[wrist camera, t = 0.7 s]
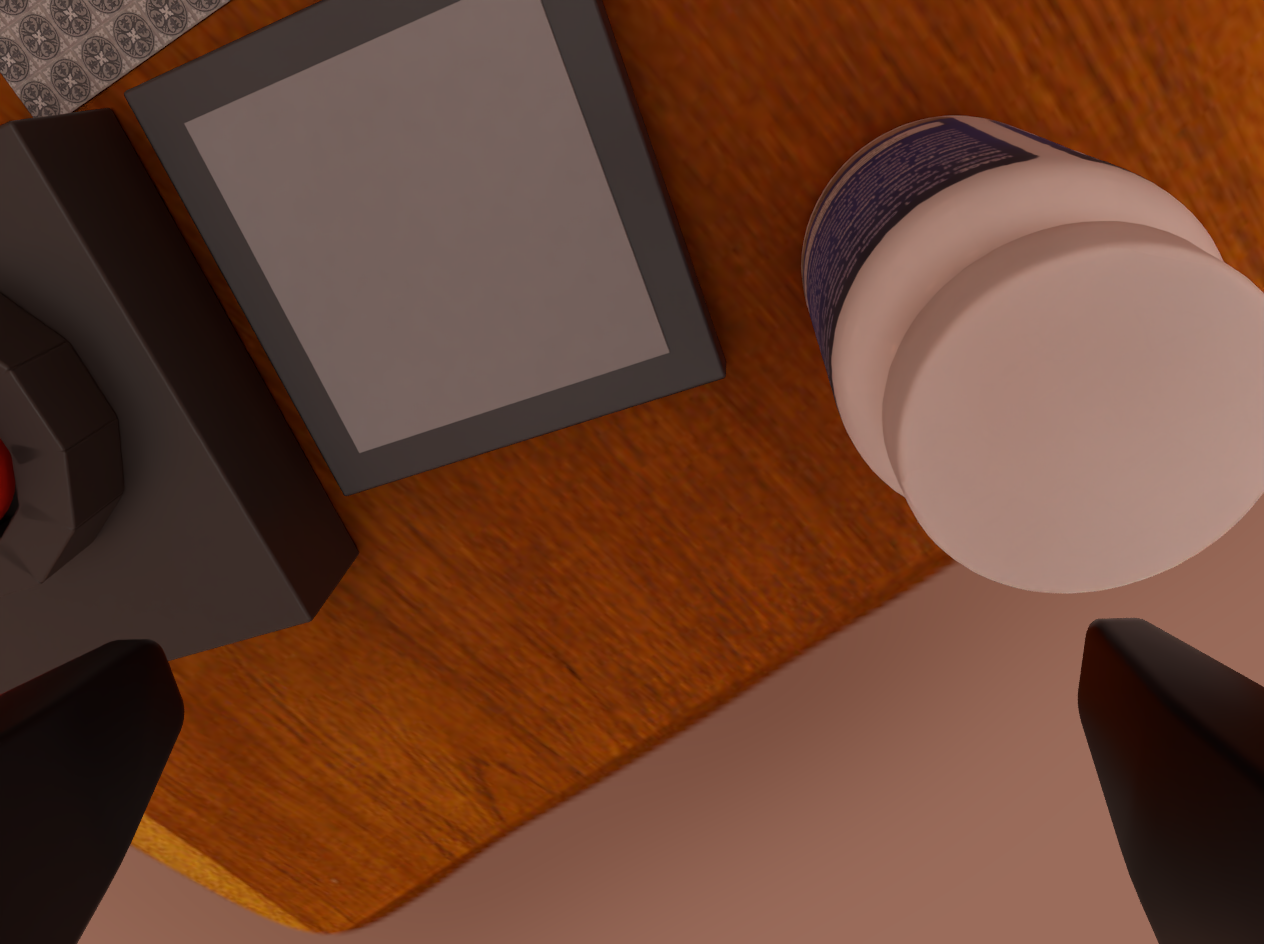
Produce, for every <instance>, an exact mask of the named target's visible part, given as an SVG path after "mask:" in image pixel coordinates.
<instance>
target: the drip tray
mask: <svg viewBox="0 0 1264 944" xmlns="http://www.w3.org/2000/svg"><path fill="white" fill-rule="evenodd" d="M124 96H125V98H126V100H127V101H128V103H129V105H130V107H131V109H132V110H133V112H134V114H135V116H136V118H137V120H138V121H139V123H140V125H141V127H142V129H143V130H144V132H145V134H146V136H147V138H148V140H149V141H150V143H151V145H152V147H153V149H154V150H155V152H156V154H157V156H158V158H159V160H160V161H161V163H162V165H163V167H164V169H165V170H166V172H167V174H168V176H169V178H170V180H171V181H172V183H173V185H174V187H175V189H176V190H177V192H178V194H179V196H180V198H181V200H182V201H183V203H184V205H185V207H186V209H187V210H188V212H189V214H190V216H191V218H192V220H193V221H194V223H195V225H196V227H197V229H198V230H199V232H200V234H201V236H202V238H203V240H204V241H205V243H206V245H207V247H208V249H209V250H210V252H211V254H212V256H213V258H214V260H215V261H216V263H217V265H218V267H219V269H220V270H221V272H222V274H223V276H224V278H225V280H226V281H227V283H228V285H229V287H230V289H231V290H232V292H233V294H234V296H235V298H236V300H237V301H238V303H239V305H240V307H241V309H242V310H243V312H244V314H245V316H246V318H247V320H248V321H249V323H250V325H251V327H252V329H253V330H254V332H255V334H256V336H257V338H258V340H259V341H260V343H261V345H262V347H263V349H264V350H265V352H266V354H267V356H268V358H269V360H270V361H271V363H272V365H273V367H274V369H275V370H276V372H277V374H278V376H279V378H280V380H281V381H282V383H283V385H284V387H285V389H286V390H287V392H288V394H289V396H290V398H291V400H292V401H293V403H294V405H295V407H296V409H297V410H298V412H299V414H300V416H301V418H302V420H303V421H304V423H305V425H306V427H307V429H308V430H309V432H310V434H311V436H312V438H313V440H314V441H315V443H316V445H317V447H318V449H319V450H320V452H321V454H322V456H323V458H324V460H325V461H326V463H327V465H328V467H329V469H330V470H331V472H332V474H333V476H334V478H335V480H336V481H337V483H338V485H339V487H340V489H341V490H342V492H343V494H344V495H345V496H349V495H352V494H355V493H358V492H361V491H365V490H368V489H371V488H374V487H377V486H381V485H384V484H387V483H390V482H393V481H397V480H400V479H403V478H406V477H409V476H413V475H416V474H419V473H422V472H425V471H429V470H432V469H435V468H438V467H441V466H445V465H448V464H451V463H454V462H457V461H461V460H464V459H467V458H470V457H473V456H477V455H480V454H483V453H486V452H489V451H493V450H496V449H499V448H502V447H505V446H509V445H512V444H515V443H518V442H521V441H525V440H528V439H531V438H534V437H537V436H541V435H544V434H547V433H550V432H553V431H557V430H560V429H563V428H566V427H569V426H573V425H576V424H579V423H582V422H585V421H589V420H592V419H595V418H598V417H601V416H605V415H608V414H611V413H614V412H617V411H621V410H624V409H627V408H630V407H633V406H637V405H640V404H643V403H646V402H649V401H653V400H656V399H659V398H662V397H665V396H669V395H672V394H675V393H678V392H681V391H685V390H688V389H691V388H694V387H697V386H701V385H704V384H707V383H710V382H713V381H717V380H720V379H723V378H725V377H726V360H725V357H724V354H723V352H722V349H721V346H720V343H719V340H718V337H717V334H716V331H715V328H714V325H713V322H712V319H711V317H710V314H709V311H708V308H707V305H706V302H705V299H704V296H703V293H702V290H701V287H700V285H699V282H698V279H697V276H696V273H695V270H694V267H693V264H692V261H691V258H690V255H689V252H688V250H687V247H686V244H685V241H684V238H683V235H682V232H681V229H680V226H679V223H678V220H677V218H676V215H675V212H674V209H673V206H672V203H671V200H670V197H669V194H668V191H667V188H666V185H665V183H664V180H663V177H662V174H661V171H660V168H659V165H658V162H657V159H656V156H655V153H654V150H653V148H652V145H651V142H650V139H649V136H648V133H647V130H646V127H645V124H644V121H643V118H642V116H641V113H640V110H639V107H638V104H637V101H636V98H635V95H634V92H633V89H632V86H631V83H630V81H629V78H628V75H627V72H626V69H625V66H624V63H623V60H622V57H621V54H620V51H619V49H618V46H617V43H616V40H615V37H614V34H613V31H612V28H611V25H610V22H609V19H608V16H607V14H606V11H605V8H604V5H603V2H602V0H322V1H319V2H317V3H315V4H313V5H311V6H309V7H306V8H304V9H302V10H300V11H298V12H296V13H293V14H291V15H289V16H287V17H285V18H283V19H280V20H278V21H276V22H274V23H272V24H270V25H268V26H265V27H263V28H261V29H259V30H257V31H255V32H252V33H250V34H248V35H246V36H244V37H242V38H239V39H237V40H235V41H233V42H231V43H229V44H226V45H224V46H222V47H220V48H218V49H216V50H214V51H211V52H209V53H207V54H205V55H203V56H201V57H198V58H196V59H194V60H192V61H190V62H188V63H185V64H183V65H181V66H179V67H177V68H175V69H172V70H170V71H168V72H166V73H164V74H162V75H160V76H157V77H155V78H153V79H151V80H149V81H147V82H144V83H142V84H140V85H138V86H136V87H134V88H131V89H129V90H127V91H126V92H125V93H124Z"/></svg>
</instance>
